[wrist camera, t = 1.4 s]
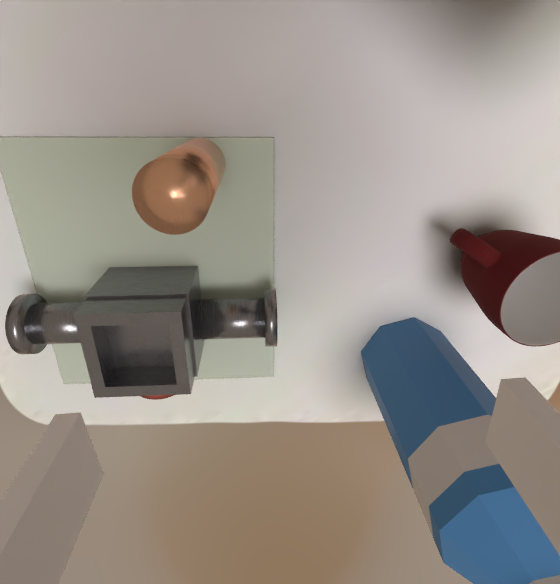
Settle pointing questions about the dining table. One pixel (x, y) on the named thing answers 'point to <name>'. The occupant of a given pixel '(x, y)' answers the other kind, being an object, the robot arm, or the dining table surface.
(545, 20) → the dining table surface
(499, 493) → the water bottle
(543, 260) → the mug
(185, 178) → the brown mallet handle
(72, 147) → the mat
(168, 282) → the metal mallet head
